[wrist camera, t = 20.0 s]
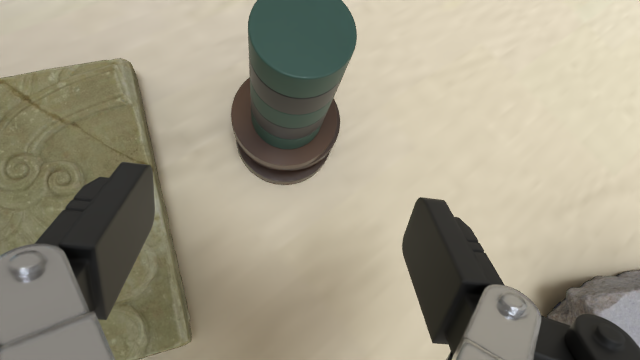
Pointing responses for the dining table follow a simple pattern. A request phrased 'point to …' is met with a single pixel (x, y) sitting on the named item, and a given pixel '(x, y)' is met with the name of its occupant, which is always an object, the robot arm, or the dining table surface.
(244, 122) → the chip pile
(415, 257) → the robot arm
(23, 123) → the decorative tile
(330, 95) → the chip column
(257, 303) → the dining table surface
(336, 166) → the dining table surface
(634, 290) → the decorative stone
